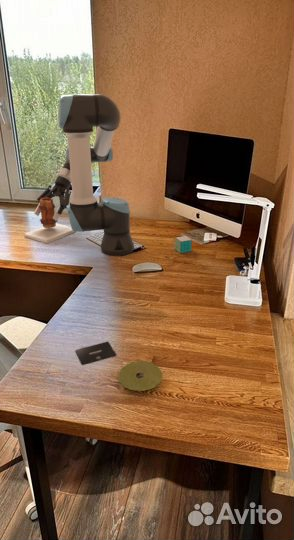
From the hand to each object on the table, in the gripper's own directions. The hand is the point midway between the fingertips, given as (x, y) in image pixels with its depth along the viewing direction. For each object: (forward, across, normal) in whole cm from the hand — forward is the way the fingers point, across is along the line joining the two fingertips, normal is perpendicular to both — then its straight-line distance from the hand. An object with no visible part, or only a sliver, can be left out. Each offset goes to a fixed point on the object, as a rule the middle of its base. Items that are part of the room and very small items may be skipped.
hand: (45, 217), depth 194 cm
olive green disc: (+49, -99, +35) cm, 116 cm away
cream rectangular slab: (+5, 0, -8) cm, 10 cm away
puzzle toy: (-8, -65, -22) cm, 69 cm away
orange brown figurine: (+3, 0, -6) cm, 7 cm away
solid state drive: (+48, -82, +33) cm, 100 cm away
